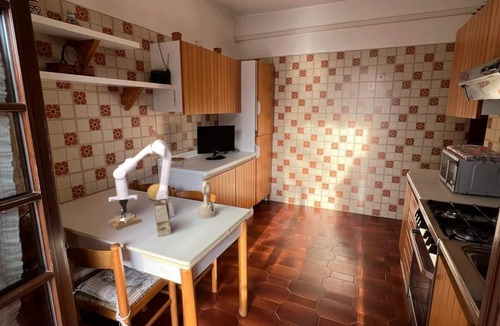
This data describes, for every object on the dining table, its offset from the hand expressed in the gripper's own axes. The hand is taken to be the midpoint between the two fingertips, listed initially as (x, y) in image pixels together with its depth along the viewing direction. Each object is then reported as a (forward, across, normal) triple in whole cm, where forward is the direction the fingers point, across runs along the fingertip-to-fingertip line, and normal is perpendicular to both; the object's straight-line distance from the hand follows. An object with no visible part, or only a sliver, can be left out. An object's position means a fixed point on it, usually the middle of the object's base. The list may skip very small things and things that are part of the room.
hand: (125, 212), depth 149 cm
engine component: (+5, -45, +3) cm, 46 cm away
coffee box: (+5, -22, +20) cm, 30 cm away
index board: (+4, 0, +4) cm, 6 cm away
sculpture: (+5, -12, -32) cm, 35 cm away
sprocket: (+3, 0, +4) cm, 5 cm away
